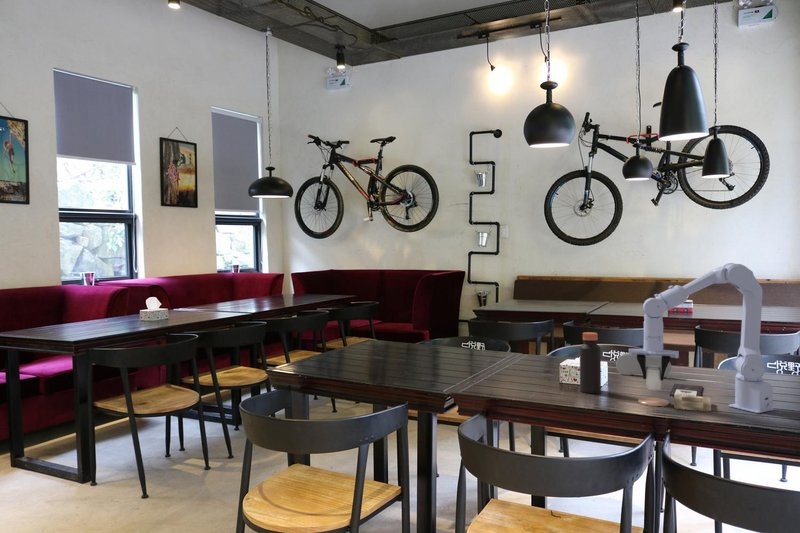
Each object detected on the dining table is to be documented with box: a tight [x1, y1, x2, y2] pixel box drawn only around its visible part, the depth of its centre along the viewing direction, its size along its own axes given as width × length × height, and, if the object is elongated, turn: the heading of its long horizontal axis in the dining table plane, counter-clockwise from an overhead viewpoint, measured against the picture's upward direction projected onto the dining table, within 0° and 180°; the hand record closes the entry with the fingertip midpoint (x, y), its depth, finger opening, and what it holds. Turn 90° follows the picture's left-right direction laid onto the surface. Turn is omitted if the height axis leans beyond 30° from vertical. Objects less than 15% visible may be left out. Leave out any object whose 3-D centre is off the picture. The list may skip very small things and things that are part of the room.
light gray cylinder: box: [645, 365, 662, 391], centre depth 195 cm, size 4×4×7 cm
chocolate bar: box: [669, 383, 703, 398], centre depth 209 cm, size 9×1×18 cm
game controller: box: [615, 352, 672, 378], centre depth 235 cm, size 20×2×8 cm, turn 63°
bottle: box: [579, 331, 602, 394], centre depth 211 cm, size 7×7×20 cm
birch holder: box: [673, 395, 712, 412], centre depth 191 cm, size 10×10×2 cm
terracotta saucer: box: [637, 396, 670, 407], centre depth 195 cm, size 9×9×1 cm
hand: (653, 379), depth 195 cm, fingers closed on light gray cylinder, 4 cm apart
